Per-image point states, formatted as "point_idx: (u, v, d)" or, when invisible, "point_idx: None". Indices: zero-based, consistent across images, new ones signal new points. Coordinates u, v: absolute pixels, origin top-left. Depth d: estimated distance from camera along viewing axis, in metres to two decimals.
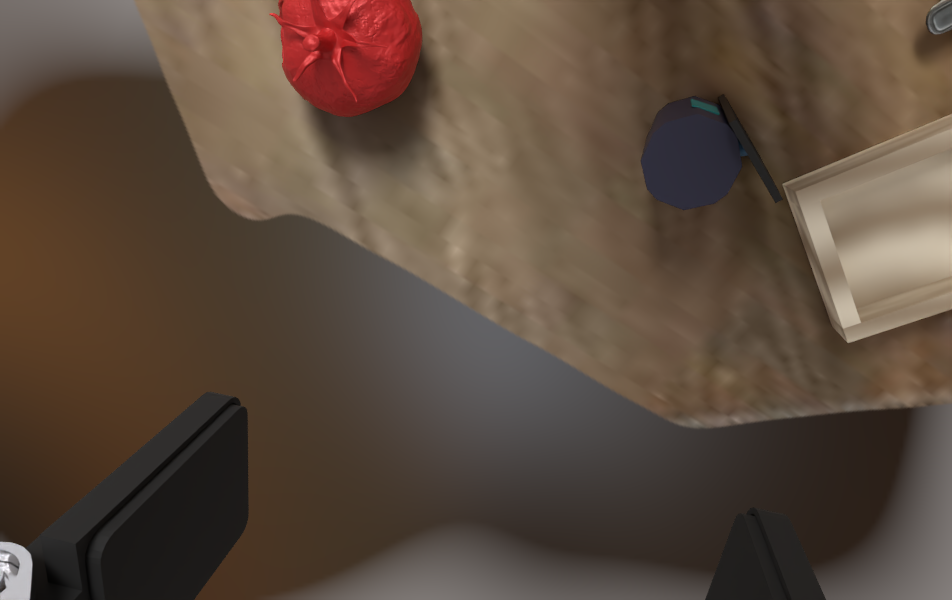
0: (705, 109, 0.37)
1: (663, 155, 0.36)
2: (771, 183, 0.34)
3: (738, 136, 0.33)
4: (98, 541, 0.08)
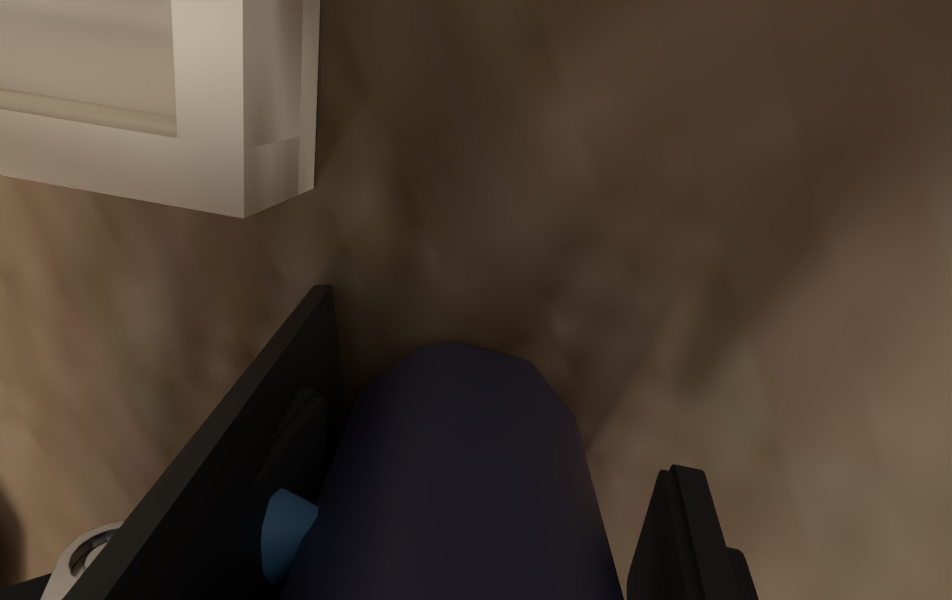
0: None
1: None
2: None
3: None
4: None
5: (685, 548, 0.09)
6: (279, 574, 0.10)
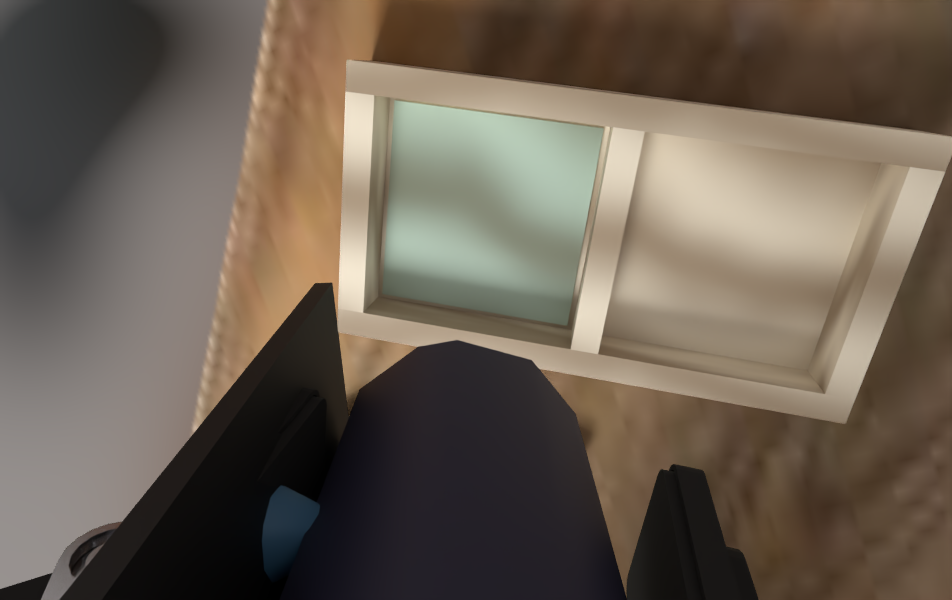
0: None
1: None
2: None
3: None
4: None
5: (685, 548, 0.09)
6: (280, 572, 0.10)
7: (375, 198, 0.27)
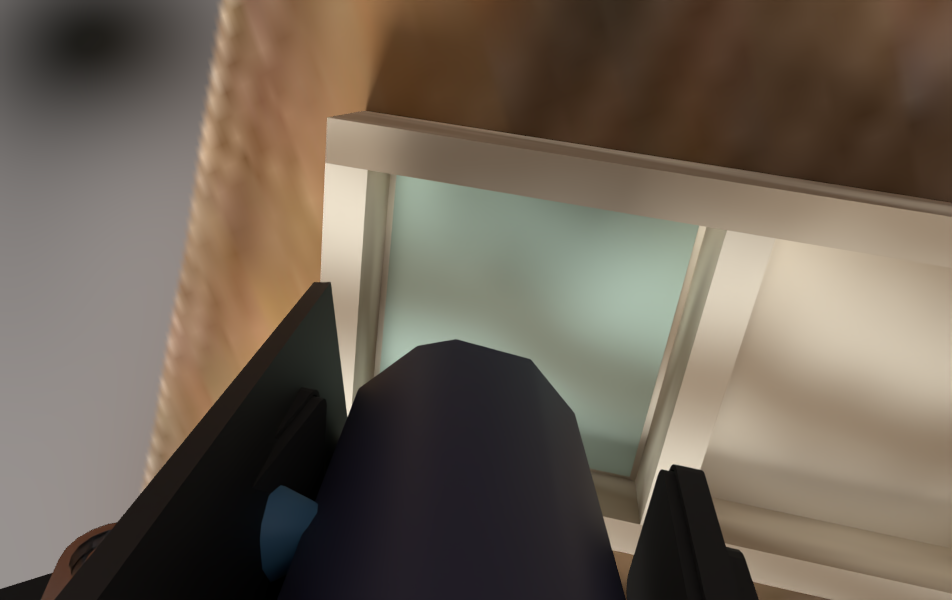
0: None
1: None
2: None
3: None
4: None
5: (685, 548, 0.09)
6: (278, 571, 0.10)
7: (367, 306, 0.19)
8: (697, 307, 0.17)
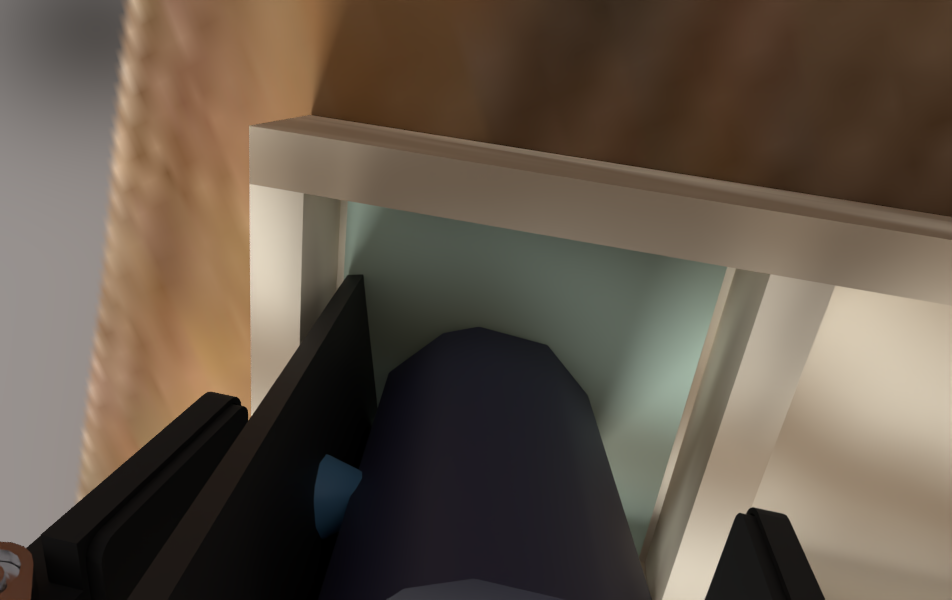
0: None
1: None
2: None
3: None
4: (99, 541, 0.08)
5: None
6: (329, 529, 0.11)
7: None
8: (727, 367, 0.13)
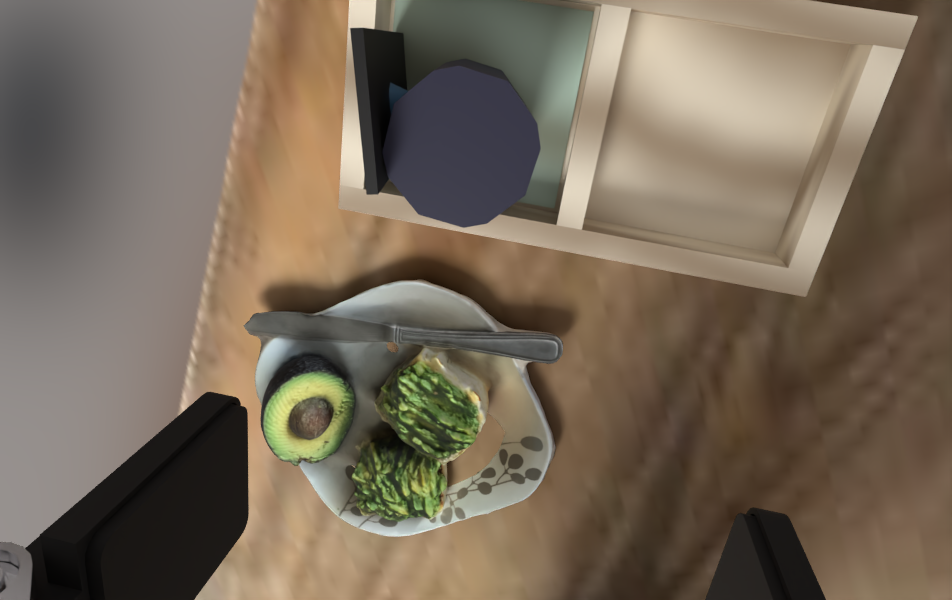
0: None
1: (490, 185, 0.22)
2: (356, 66, 0.20)
3: (373, 168, 0.21)
4: (98, 541, 0.08)
5: None
6: None
7: None
8: None
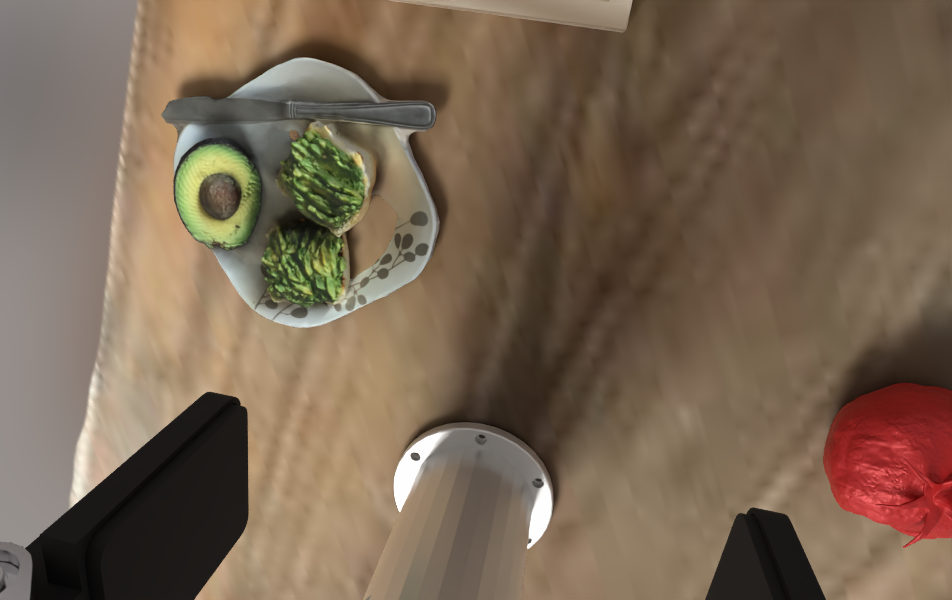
0: None
1: None
2: None
3: None
4: (98, 541, 0.08)
5: None
6: None
7: None
8: None
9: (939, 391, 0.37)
